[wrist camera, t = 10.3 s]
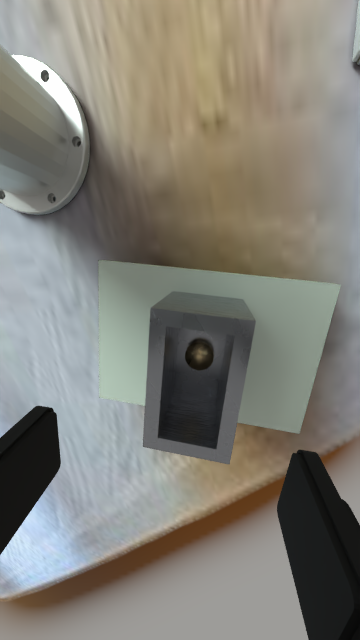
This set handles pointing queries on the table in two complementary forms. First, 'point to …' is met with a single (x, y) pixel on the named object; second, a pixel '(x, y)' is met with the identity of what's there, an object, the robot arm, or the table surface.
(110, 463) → the table surface
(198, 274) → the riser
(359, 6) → the hard drive box
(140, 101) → the table surface
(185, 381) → the housing
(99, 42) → the table surface
